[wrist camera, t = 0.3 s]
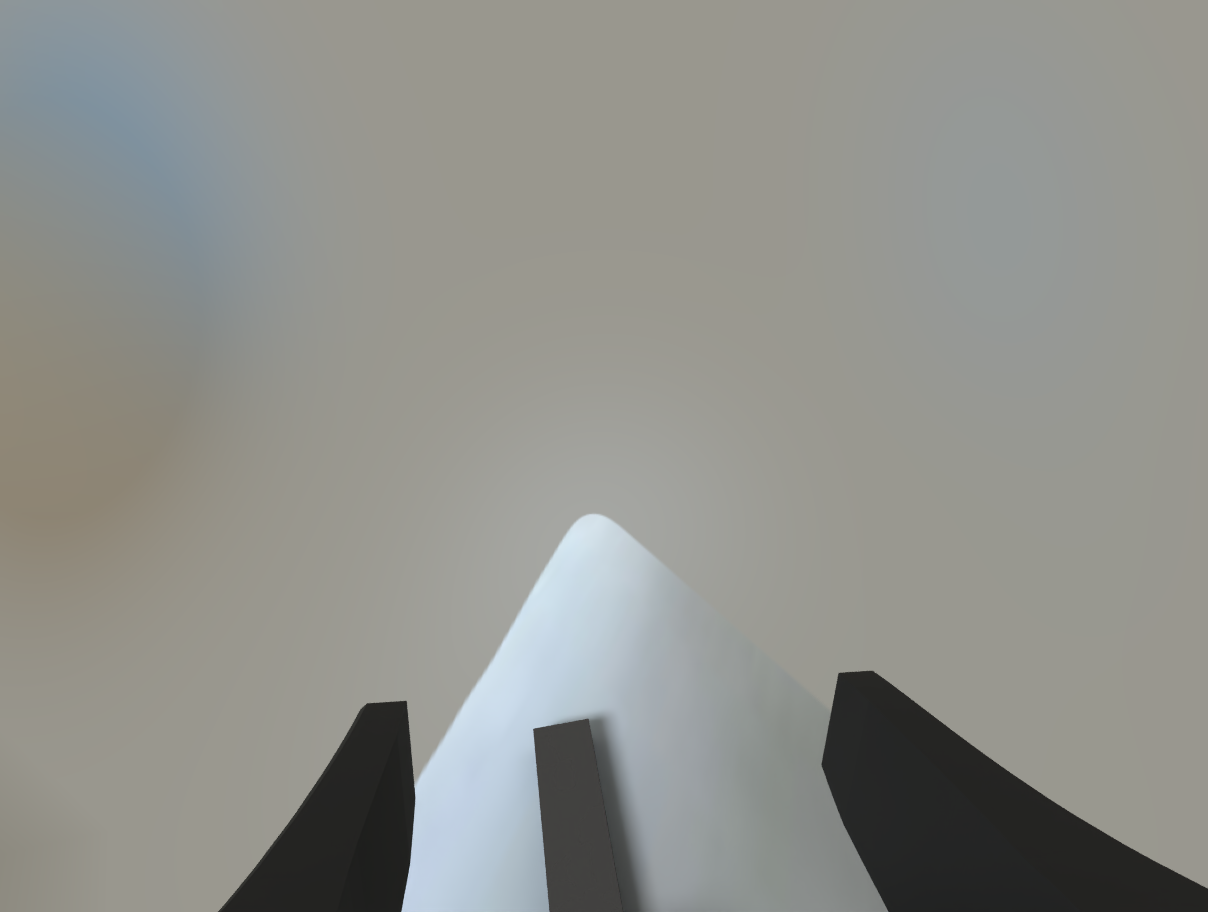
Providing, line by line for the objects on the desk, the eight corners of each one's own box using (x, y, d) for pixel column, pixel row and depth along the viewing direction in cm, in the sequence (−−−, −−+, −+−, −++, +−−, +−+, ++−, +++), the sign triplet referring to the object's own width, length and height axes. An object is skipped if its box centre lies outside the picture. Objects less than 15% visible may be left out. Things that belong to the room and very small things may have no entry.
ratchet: (753, 1232, 21) (753, 1161, 19) (510, 1294, 21) (486, 1227, 19) (631, 731, 38) (624, 666, 36) (495, 756, 38) (481, 691, 36)
